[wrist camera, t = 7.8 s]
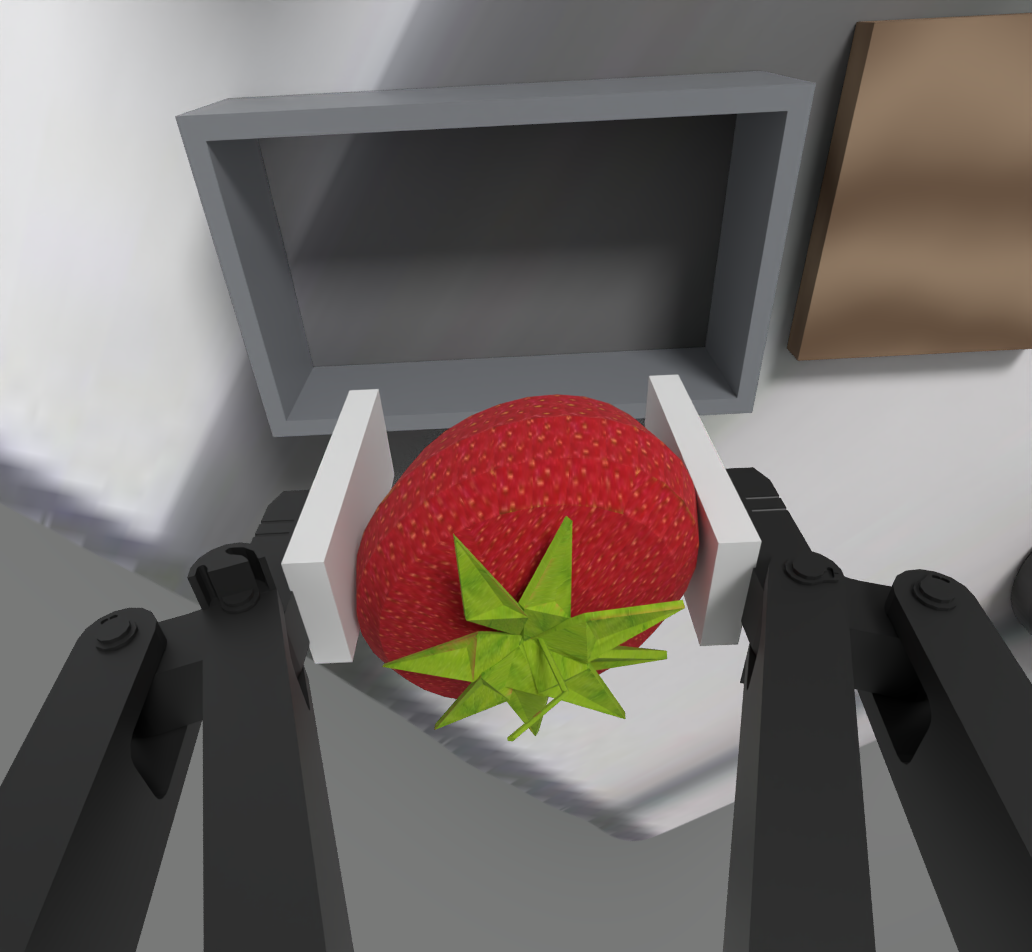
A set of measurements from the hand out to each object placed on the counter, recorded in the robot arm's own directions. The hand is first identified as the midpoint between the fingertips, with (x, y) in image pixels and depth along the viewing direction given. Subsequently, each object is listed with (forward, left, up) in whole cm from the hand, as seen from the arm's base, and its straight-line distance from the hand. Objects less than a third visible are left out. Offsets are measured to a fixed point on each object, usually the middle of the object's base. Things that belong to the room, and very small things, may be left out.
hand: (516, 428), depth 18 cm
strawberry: (0, 0, -1) cm, 1 cm away
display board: (+1, -21, -16) cm, 26 cm away
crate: (0, 0, -16) cm, 16 cm away
